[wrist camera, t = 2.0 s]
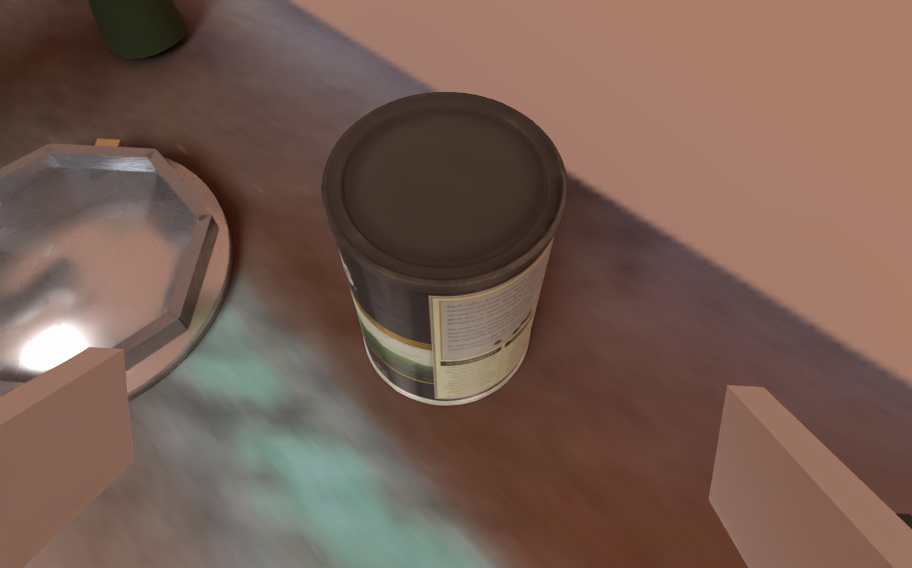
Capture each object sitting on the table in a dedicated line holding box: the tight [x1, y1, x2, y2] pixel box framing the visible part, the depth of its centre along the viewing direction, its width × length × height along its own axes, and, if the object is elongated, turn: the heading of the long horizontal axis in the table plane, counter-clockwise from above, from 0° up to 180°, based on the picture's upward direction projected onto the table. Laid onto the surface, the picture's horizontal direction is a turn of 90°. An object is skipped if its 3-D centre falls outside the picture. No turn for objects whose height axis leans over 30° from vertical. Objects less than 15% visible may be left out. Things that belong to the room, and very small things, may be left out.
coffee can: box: [321, 92, 568, 406], centre depth 33 cm, size 10×10×14 cm
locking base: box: [0, 139, 233, 402], centre depth 39 cm, size 20×20×2 cm
